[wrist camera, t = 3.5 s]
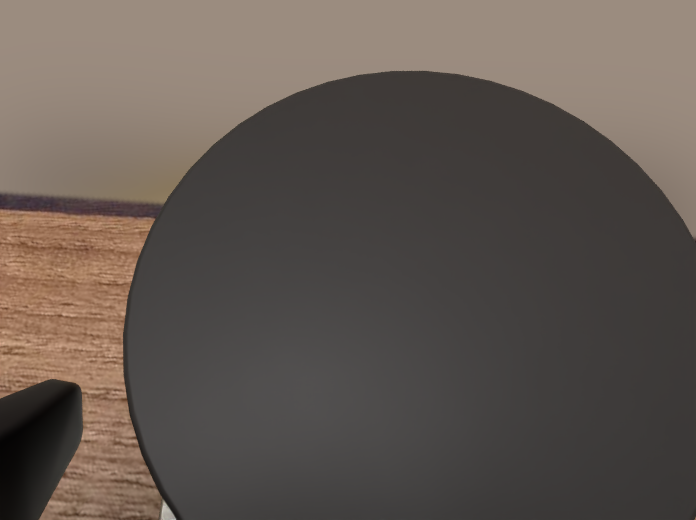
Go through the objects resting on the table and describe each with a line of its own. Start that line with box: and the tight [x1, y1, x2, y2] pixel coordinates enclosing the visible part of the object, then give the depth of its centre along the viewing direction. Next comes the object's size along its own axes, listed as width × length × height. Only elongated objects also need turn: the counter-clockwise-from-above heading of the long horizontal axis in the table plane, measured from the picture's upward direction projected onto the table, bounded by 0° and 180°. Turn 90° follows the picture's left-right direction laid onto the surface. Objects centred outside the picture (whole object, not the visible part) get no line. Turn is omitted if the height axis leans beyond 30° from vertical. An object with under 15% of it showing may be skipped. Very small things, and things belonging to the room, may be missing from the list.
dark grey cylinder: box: [123, 71, 696, 520], centre depth 9 cm, size 6×6×8 cm
